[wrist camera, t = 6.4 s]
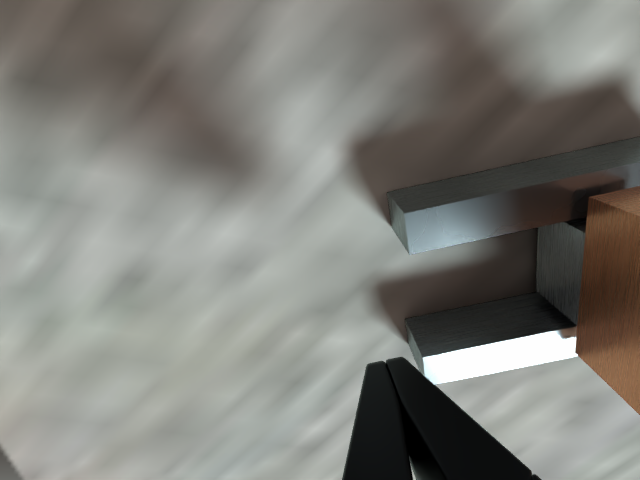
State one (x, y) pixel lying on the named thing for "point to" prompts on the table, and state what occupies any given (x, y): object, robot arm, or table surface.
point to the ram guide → (494, 220)
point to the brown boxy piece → (599, 285)
